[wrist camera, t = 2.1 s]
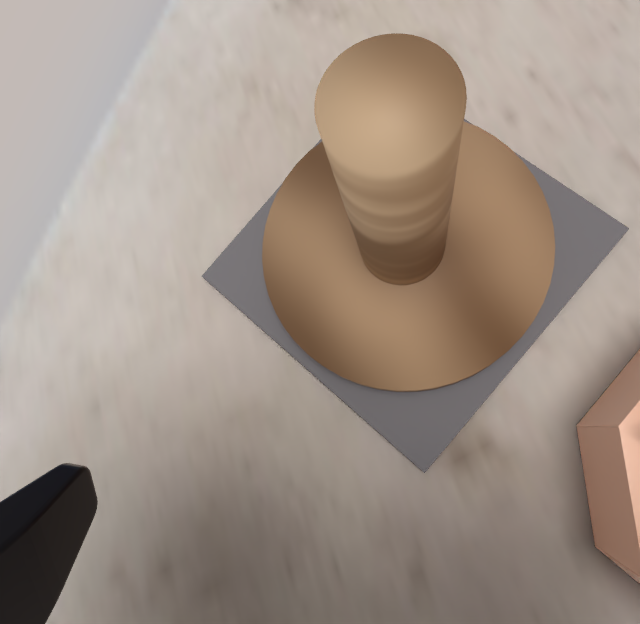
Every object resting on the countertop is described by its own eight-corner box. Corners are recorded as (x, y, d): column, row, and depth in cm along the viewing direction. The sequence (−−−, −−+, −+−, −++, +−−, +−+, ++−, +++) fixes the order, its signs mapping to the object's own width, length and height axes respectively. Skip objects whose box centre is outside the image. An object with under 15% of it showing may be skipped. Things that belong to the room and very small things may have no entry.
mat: (424, 472, 21) (424, 473, 21) (204, 277, 24) (201, 276, 24) (626, 230, 22) (629, 228, 21) (384, 70, 25) (384, 66, 24)
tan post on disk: (422, 453, 21) (425, 482, 10) (217, 274, 24) (54, 152, 13) (609, 230, 21) (798, 38, 11) (386, 80, 24) (360, -190, 14)
